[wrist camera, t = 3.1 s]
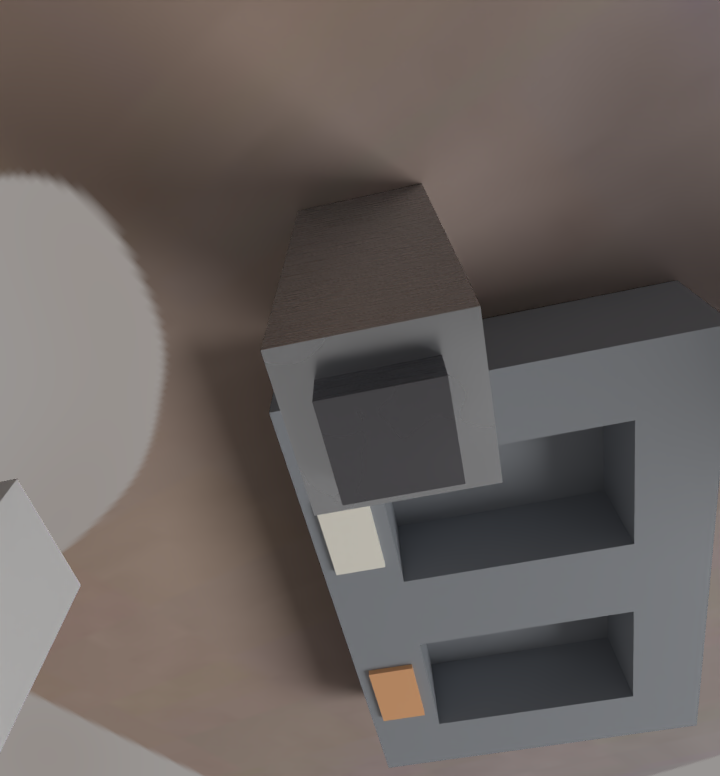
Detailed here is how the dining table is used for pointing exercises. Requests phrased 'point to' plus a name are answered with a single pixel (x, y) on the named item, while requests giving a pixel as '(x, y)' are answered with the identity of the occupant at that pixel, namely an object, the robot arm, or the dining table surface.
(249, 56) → the dining table surface
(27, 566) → the robot arm
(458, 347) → the plug
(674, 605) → the socket board
